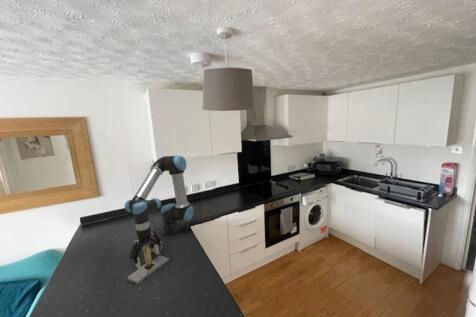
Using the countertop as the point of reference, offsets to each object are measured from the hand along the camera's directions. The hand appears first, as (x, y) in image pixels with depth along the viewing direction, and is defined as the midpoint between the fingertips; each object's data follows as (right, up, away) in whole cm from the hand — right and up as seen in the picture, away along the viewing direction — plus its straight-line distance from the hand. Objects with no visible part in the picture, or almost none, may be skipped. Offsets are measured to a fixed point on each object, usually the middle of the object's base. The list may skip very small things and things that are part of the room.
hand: (148, 260), depth 121 cm
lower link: (+3, -5, +5) cm, 7 cm away
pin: (+1, -6, +1) cm, 6 cm away
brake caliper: (-5, -4, +21) cm, 22 cm away
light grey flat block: (-1, -7, -3) cm, 7 cm away
